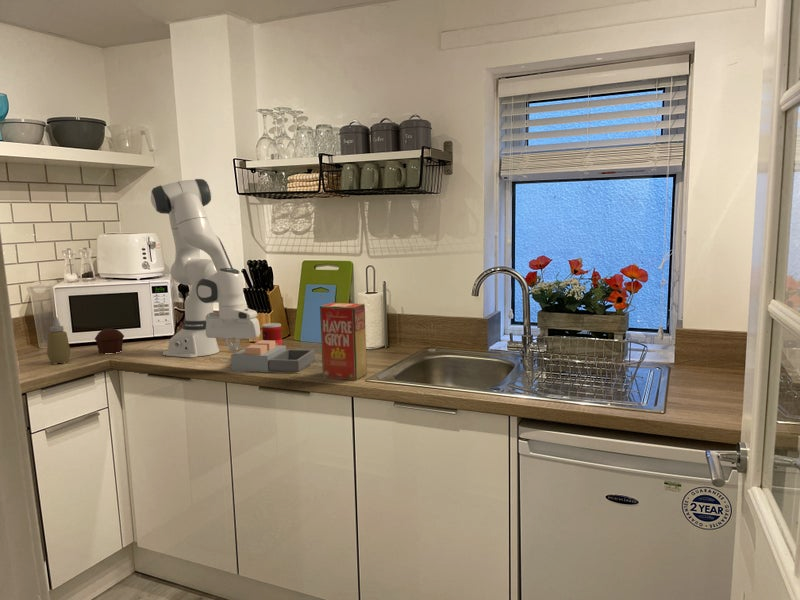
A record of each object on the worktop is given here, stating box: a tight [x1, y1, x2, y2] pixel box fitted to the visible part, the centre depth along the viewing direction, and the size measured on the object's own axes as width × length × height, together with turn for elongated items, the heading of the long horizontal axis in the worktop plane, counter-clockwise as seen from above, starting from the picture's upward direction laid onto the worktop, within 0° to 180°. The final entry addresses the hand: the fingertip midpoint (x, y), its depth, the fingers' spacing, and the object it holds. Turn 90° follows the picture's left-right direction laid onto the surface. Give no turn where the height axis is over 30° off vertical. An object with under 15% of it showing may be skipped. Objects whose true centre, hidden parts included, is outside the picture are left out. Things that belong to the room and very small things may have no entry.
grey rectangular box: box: [230, 344, 287, 373], centre depth 230 cm, size 14×18×6 cm
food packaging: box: [319, 302, 368, 381], centre depth 211 cm, size 13×9×25 cm
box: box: [269, 348, 316, 373], centre depth 227 cm, size 11×18×4 cm, turn 169°
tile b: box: [253, 339, 276, 350], centre depth 232 cm, size 6×6×2 cm
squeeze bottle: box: [46, 316, 72, 365], centre depth 240 cm, size 8×8×18 cm
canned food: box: [261, 322, 283, 345], centre depth 257 cm, size 8×8×11 cm
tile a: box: [244, 343, 267, 355], centre depth 224 cm, size 6×6×2 cm
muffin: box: [94, 327, 125, 354], centre depth 259 cm, size 12×11×10 cm
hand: (233, 350), depth 225 cm, fingers closed
